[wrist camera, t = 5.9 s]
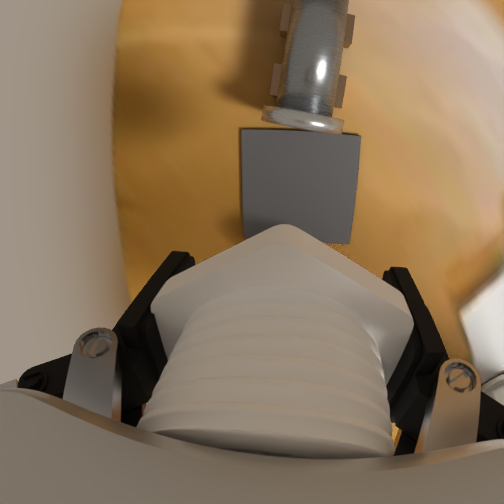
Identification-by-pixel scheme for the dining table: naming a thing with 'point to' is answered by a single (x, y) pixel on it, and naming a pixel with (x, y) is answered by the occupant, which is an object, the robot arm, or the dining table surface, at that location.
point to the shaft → (311, 65)
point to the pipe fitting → (279, 351)
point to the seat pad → (299, 182)
